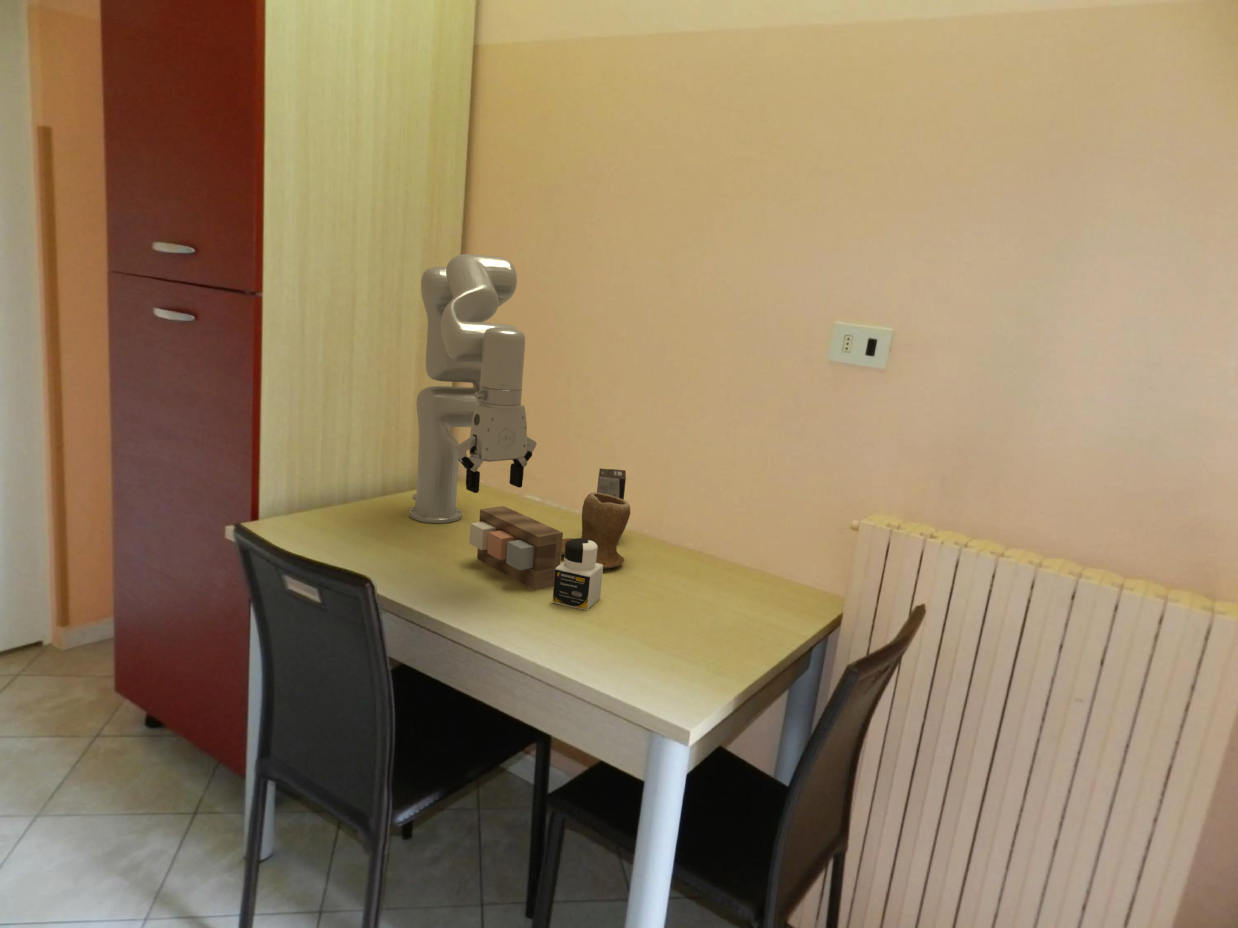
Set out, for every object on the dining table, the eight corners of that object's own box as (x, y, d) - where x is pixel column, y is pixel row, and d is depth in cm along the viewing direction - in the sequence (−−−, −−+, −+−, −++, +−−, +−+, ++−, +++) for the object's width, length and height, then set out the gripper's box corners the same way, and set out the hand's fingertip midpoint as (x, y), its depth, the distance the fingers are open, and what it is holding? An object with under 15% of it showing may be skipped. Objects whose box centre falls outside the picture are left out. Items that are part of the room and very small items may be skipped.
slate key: (506, 563, 166) (507, 541, 165) (522, 559, 169) (524, 538, 168) (519, 570, 163) (521, 548, 162) (536, 566, 166) (538, 545, 165)
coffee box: (619, 545, 197) (626, 478, 194) (591, 543, 197) (597, 476, 194) (619, 534, 206) (626, 469, 203) (593, 531, 206) (599, 467, 203)
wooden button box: (476, 559, 179) (480, 509, 177) (500, 554, 183) (503, 505, 181) (534, 590, 165) (538, 536, 163) (558, 585, 169) (563, 532, 167)
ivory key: (469, 543, 176) (470, 523, 175) (485, 540, 178) (486, 520, 177) (481, 550, 172) (482, 529, 171) (497, 547, 175) (499, 526, 174)
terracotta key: (487, 553, 171) (488, 532, 170) (503, 550, 174) (505, 529, 173) (500, 559, 168) (501, 538, 167) (516, 556, 171) (518, 535, 170)
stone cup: (636, 564, 186) (643, 498, 183) (600, 576, 177) (607, 507, 173) (584, 545, 195) (590, 482, 192) (548, 555, 186) (554, 489, 183)
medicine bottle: (551, 602, 160) (556, 542, 158) (566, 591, 167) (571, 532, 164) (586, 611, 158) (592, 550, 155) (600, 598, 165) (606, 539, 162)
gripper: (471, 402, 145) (466, 498, 149) (550, 399, 157) (543, 488, 161) (447, 395, 151) (443, 488, 154) (526, 392, 162) (519, 479, 166)
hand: (494, 488), depth 158 cm, fingers open, 9 cm apart
